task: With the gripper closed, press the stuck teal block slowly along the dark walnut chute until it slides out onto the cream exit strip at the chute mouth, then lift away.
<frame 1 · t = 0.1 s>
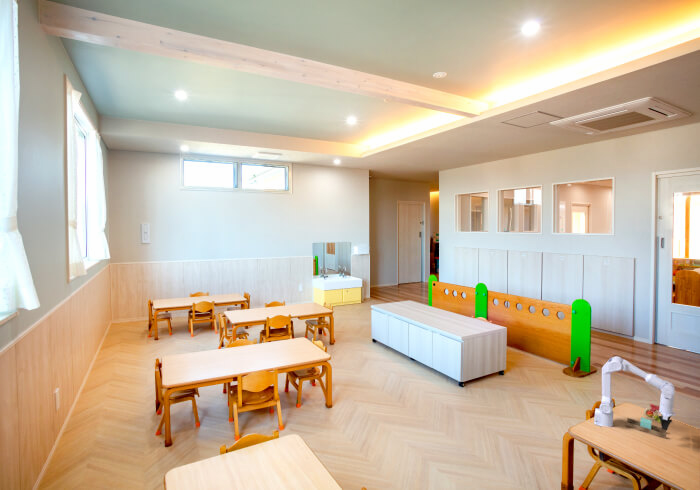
hand: (664, 426, 207), 10 cm above the table, fingers open, 7 cm apart
block: (645, 425, 219), point 4 cm above the table, slide at 0.0 cm
chute: (645, 431, 219), on the table
bird rattle: (652, 420, 231), on the table
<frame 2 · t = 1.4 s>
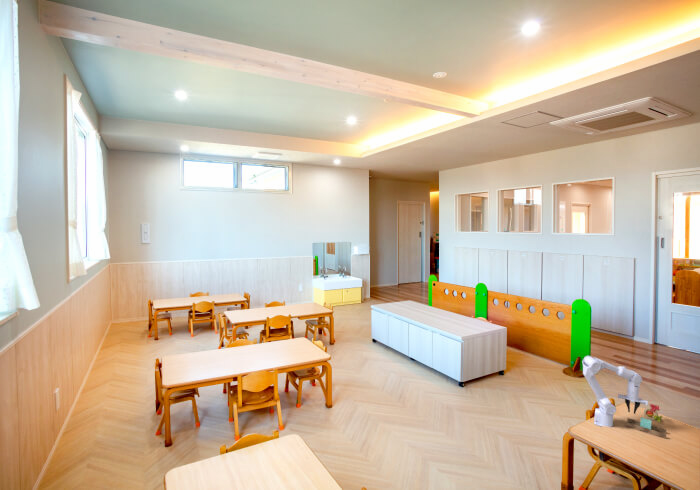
hand: (631, 412, 223), 9 cm above the table, fingers closed
nothing on the table moved.
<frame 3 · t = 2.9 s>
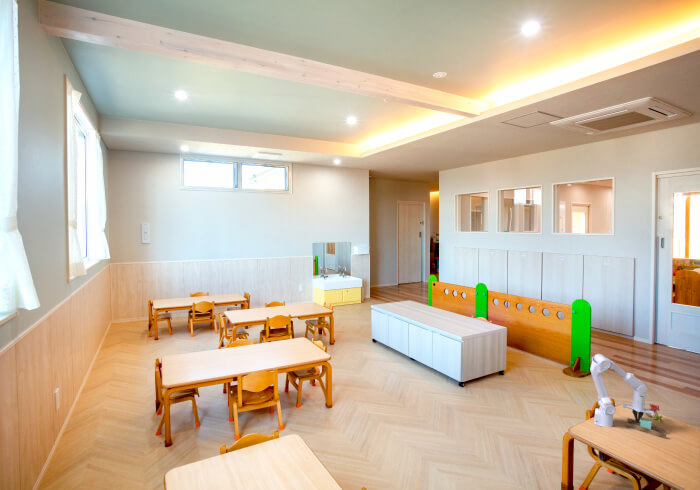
hand: (637, 422, 222), 4 cm above the table, fingers closed
block: (645, 425, 219), point 4 cm above the table, slide at 0.0 cm, touching gripper
everything else where it was.
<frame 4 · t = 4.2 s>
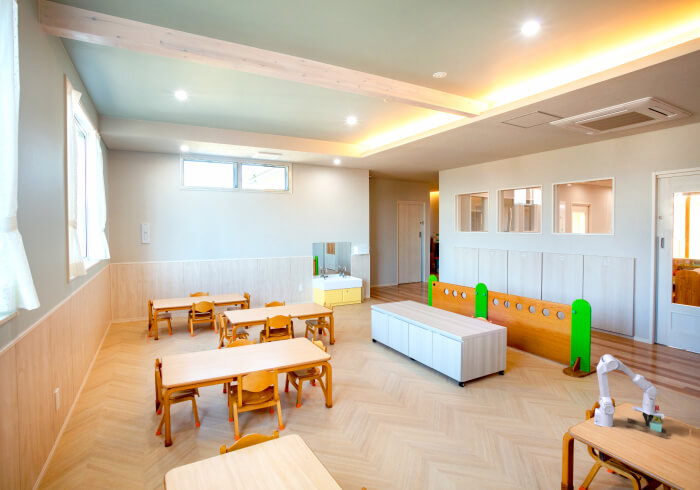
hand: (647, 425, 219), 4 cm above the table, fingers closed
block: (655, 428, 216), point 4 cm above the table, slide at 4.7 cm, touching gripper
everything else where it was.
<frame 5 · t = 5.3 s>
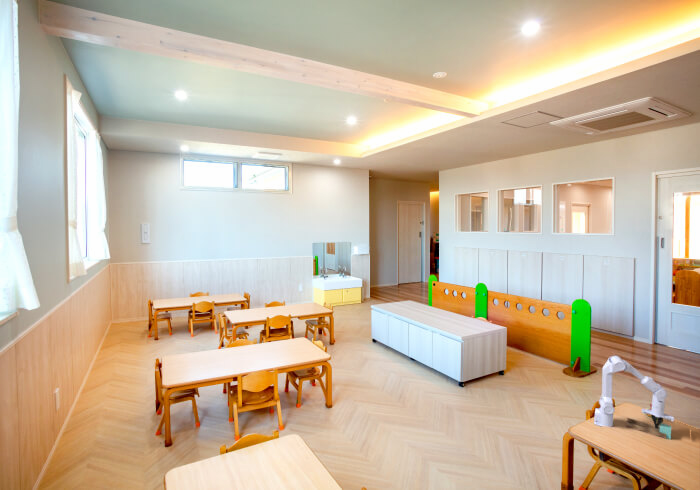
hand: (656, 428, 216), 4 cm above the table, fingers closed
block: (665, 430, 213), point 4 cm above the table, slide at 8.9 cm, touching gripper
everything else where it was.
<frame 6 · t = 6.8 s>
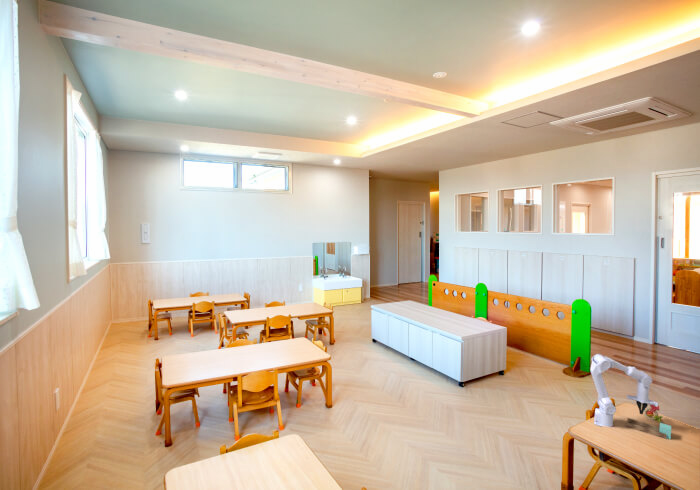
hand: (641, 413, 222), 9 cm above the table, fingers closed
block: (665, 430, 213), point 4 cm above the table, slide at 8.9 cm
everything else where it was.
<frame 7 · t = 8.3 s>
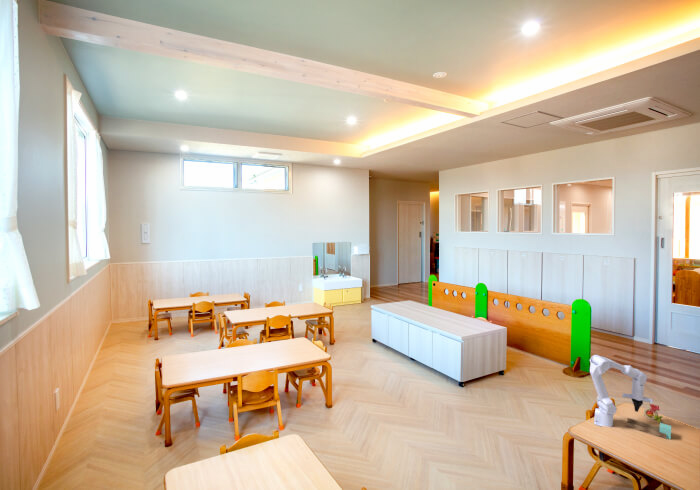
hand: (636, 410, 225), 9 cm above the table, fingers closed
nothing on the table moved.
at the end: block slide at 8.9 cm; block 0.6 cm from the target spot, point 3.9 cm above the table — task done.
